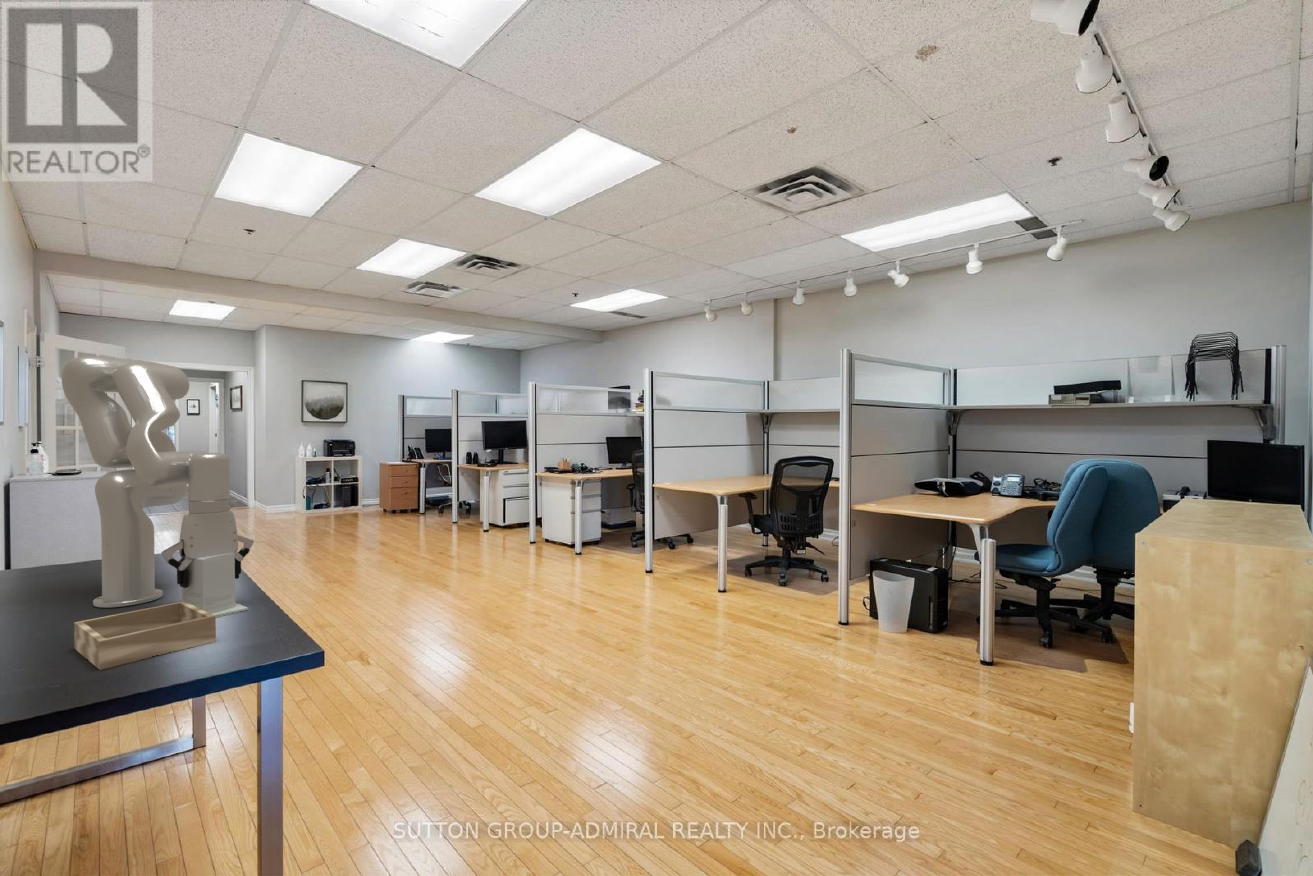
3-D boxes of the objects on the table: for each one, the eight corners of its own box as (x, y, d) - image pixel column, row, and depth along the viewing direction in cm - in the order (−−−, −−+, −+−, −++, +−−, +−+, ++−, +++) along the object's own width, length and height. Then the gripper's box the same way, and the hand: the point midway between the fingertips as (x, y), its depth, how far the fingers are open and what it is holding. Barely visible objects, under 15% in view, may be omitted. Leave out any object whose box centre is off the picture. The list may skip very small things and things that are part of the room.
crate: (74, 648, 112) (74, 622, 112) (184, 624, 126) (184, 601, 126) (99, 670, 103) (99, 641, 102) (215, 641, 116) (215, 616, 116)
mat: (171, 613, 133) (171, 611, 133) (228, 602, 142) (228, 599, 142) (190, 623, 127) (189, 620, 127) (248, 610, 136) (248, 607, 136)
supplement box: (236, 606, 137) (236, 552, 136) (201, 616, 130) (201, 559, 130) (215, 603, 139) (215, 549, 139) (180, 612, 132) (180, 556, 132)
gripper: (246, 502, 143) (246, 572, 144) (155, 510, 129) (156, 588, 130) (259, 504, 139) (259, 577, 140) (167, 513, 125) (168, 593, 125)
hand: (210, 582), depth 135 cm, fingers open, 9 cm apart
